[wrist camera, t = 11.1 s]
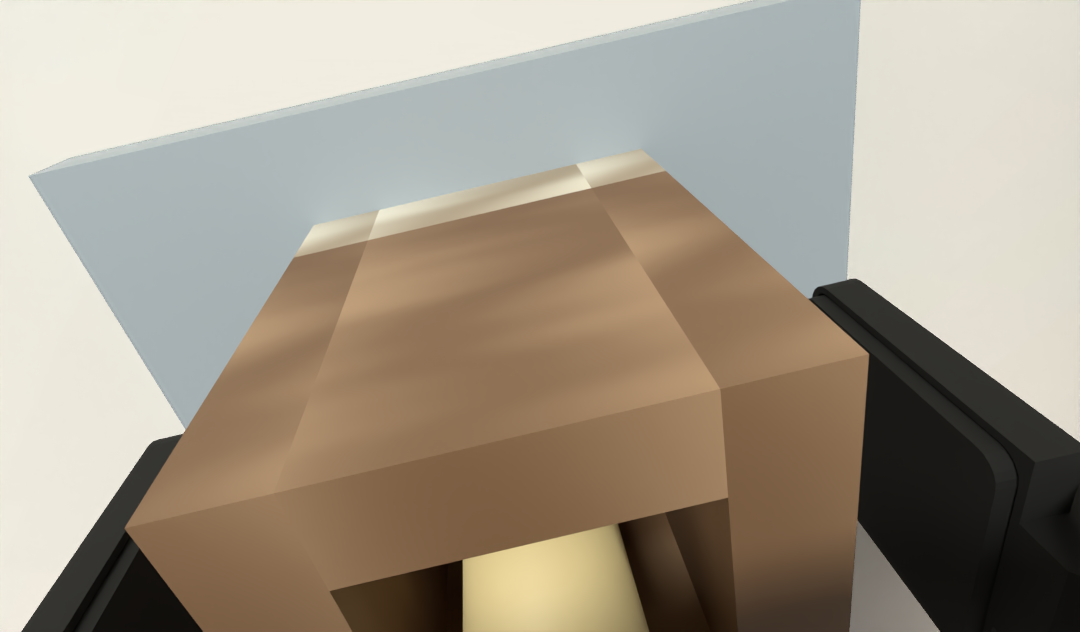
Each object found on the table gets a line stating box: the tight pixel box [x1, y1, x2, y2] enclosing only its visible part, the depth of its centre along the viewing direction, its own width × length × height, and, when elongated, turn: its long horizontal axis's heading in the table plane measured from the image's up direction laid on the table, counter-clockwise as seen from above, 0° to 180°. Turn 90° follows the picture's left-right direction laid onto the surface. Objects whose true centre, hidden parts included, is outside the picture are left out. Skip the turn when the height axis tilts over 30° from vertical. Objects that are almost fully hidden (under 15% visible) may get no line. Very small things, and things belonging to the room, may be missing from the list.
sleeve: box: [124, 149, 869, 632], centre depth 9 cm, size 6×6×7 cm
